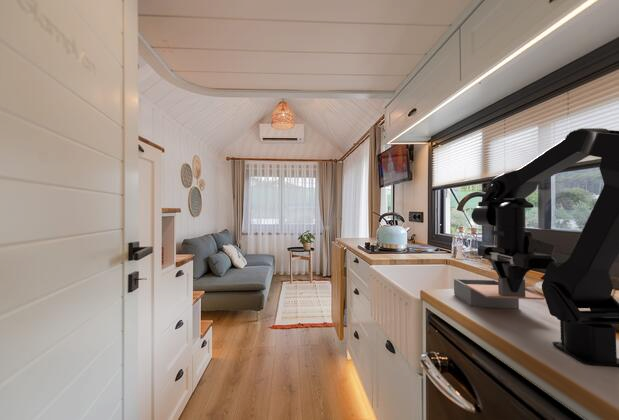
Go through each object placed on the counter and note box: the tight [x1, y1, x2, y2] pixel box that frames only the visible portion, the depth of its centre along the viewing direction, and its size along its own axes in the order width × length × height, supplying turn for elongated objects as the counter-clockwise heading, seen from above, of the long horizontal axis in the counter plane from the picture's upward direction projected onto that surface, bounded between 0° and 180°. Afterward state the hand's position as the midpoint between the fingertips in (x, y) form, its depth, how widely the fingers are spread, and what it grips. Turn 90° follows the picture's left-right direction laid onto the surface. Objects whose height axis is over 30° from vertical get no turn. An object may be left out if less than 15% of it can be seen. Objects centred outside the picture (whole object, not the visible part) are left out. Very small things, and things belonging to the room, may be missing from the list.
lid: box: [466, 277, 545, 301], centre depth 64 cm, size 10×12×4 cm
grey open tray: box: [453, 278, 520, 309], centre depth 71 cm, size 10×12×5 cm
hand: (511, 291), depth 60 cm, fingers closed on lid, 2 cm apart
